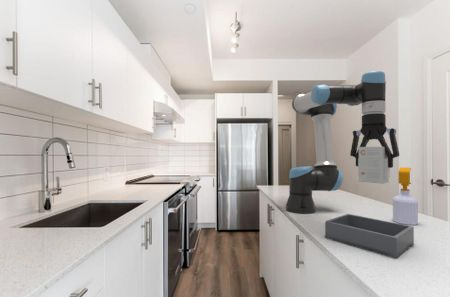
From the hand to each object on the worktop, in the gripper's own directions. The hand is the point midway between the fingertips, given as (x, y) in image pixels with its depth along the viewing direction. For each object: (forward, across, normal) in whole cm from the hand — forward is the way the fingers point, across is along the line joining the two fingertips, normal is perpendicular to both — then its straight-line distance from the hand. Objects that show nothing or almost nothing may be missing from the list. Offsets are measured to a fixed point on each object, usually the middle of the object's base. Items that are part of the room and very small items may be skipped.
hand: (373, 176), depth 89 cm
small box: (+3, 0, 0) cm, 3 cm away
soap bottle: (+23, +2, +34) cm, 41 cm away
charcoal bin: (+23, 0, -5) cm, 23 cm away
